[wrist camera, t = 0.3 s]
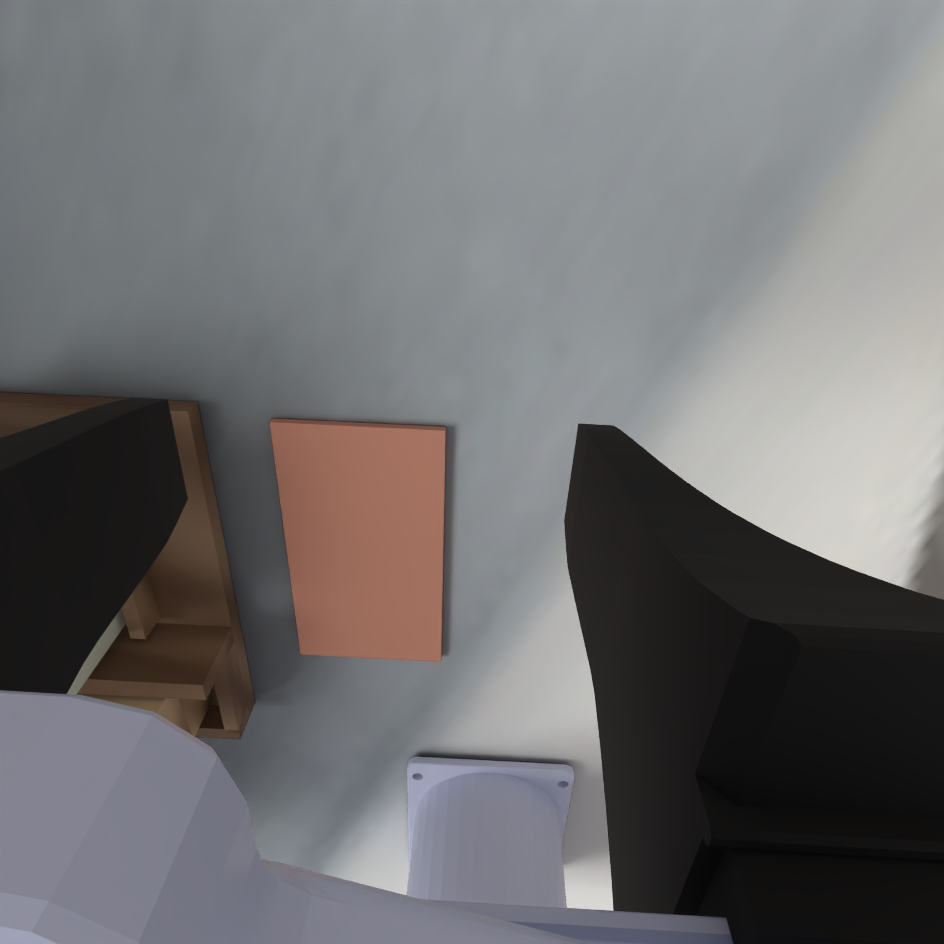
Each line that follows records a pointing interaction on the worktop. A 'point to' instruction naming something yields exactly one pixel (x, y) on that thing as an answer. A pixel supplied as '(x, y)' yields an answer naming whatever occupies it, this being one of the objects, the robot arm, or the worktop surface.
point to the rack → (170, 588)
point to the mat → (364, 535)
